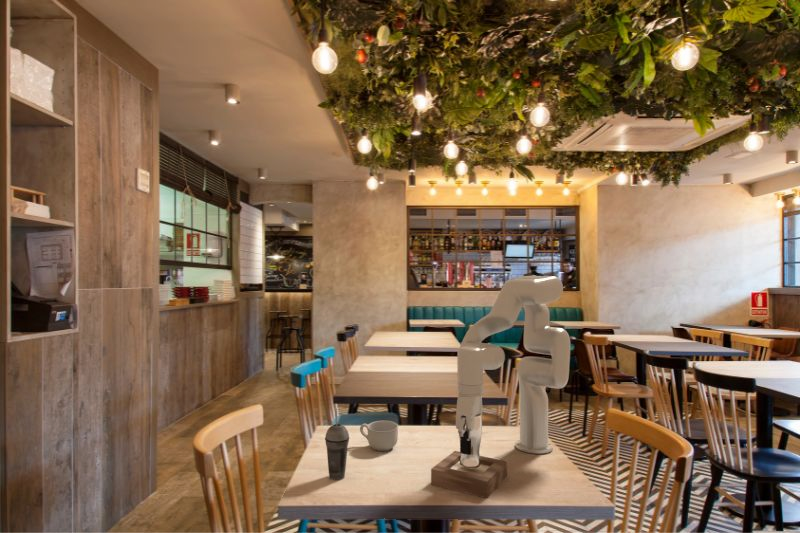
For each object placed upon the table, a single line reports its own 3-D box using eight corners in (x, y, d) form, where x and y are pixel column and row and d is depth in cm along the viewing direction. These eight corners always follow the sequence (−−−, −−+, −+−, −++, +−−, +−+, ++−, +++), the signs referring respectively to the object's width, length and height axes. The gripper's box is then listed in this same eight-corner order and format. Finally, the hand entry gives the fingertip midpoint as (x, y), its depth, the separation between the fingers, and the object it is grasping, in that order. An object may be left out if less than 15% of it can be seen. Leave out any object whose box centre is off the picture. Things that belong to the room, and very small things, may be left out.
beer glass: (481, 470, 142) (481, 417, 142) (457, 468, 144) (457, 416, 144) (482, 461, 149) (482, 411, 149) (459, 459, 150) (459, 409, 151)
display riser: (454, 465, 158) (454, 450, 158) (507, 476, 149) (507, 461, 149) (431, 484, 143) (431, 468, 143) (487, 498, 135) (487, 481, 135)
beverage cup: (329, 484, 143) (329, 414, 143) (321, 474, 150) (321, 408, 150) (352, 479, 146) (353, 411, 147) (344, 470, 153) (344, 405, 153)
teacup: (403, 446, 175) (404, 423, 175) (386, 456, 165) (386, 431, 166) (371, 439, 182) (371, 417, 182) (353, 448, 173) (353, 424, 173)
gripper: (469, 381, 156) (469, 439, 156) (446, 393, 141) (446, 457, 141) (492, 384, 152) (492, 443, 152) (471, 396, 137) (471, 462, 137)
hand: (470, 449), depth 146 cm, fingers closed on beer glass, 6 cm apart
